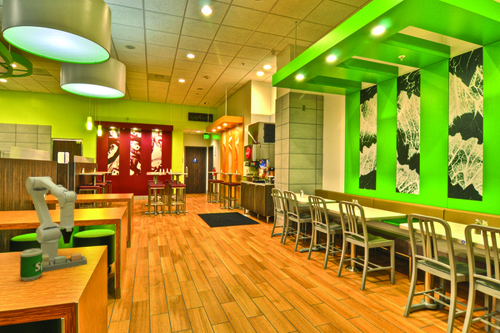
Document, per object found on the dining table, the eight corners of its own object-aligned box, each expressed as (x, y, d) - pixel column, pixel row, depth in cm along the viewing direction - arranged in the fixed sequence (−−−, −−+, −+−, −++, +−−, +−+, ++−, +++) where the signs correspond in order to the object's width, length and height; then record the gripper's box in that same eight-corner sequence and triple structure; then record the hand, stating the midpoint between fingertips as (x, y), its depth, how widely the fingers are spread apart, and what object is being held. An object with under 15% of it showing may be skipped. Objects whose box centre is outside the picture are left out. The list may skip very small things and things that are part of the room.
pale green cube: (54, 265, 133) (54, 256, 133) (64, 263, 136) (64, 255, 136) (55, 267, 130) (55, 259, 130) (65, 265, 133) (65, 257, 133)
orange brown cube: (70, 262, 138) (70, 254, 138) (79, 260, 140) (80, 252, 140) (71, 264, 134) (71, 256, 134) (81, 262, 137) (81, 254, 137)
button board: (31, 269, 129) (31, 264, 129) (83, 259, 143) (83, 255, 143) (32, 274, 123) (32, 269, 123) (86, 264, 137) (86, 259, 137)
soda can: (30, 282, 115) (30, 253, 115) (15, 280, 116) (15, 252, 116) (46, 275, 122) (47, 248, 122) (32, 274, 124) (33, 247, 124)
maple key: (37, 264, 129) (37, 256, 129) (48, 262, 132) (48, 254, 132) (38, 267, 126) (38, 258, 126) (48, 265, 129) (48, 256, 129)
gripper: (55, 214, 140) (55, 241, 140) (58, 218, 129) (58, 248, 129) (72, 213, 145) (71, 239, 145) (76, 217, 134) (76, 245, 134)
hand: (66, 243), depth 137 cm, fingers closed
